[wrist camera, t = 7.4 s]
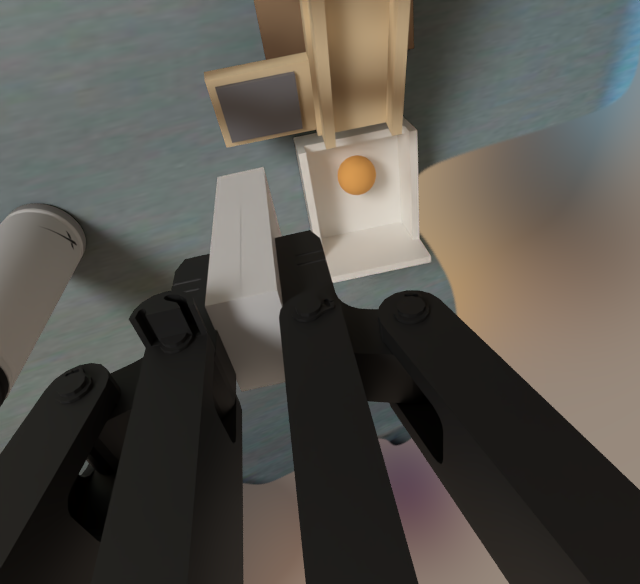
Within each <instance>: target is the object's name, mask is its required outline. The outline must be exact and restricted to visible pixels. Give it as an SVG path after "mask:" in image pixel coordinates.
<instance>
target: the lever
mask: <svg viewBox="0 0 640 584" xmlns="http://www.w3.org/2000/svg"><path fill="white" fill-rule="evenodd" d="M299 1H300V9H301V17H302V25H303V33H304V41H305V49H306V52H303V53H298V54H293V55H288V56H283V57H278V58H273V59H268V60H263V61H258V62H253V63H248V64H243V65H238V66H233V67H228V68H223V69H218V70H212V71H207V72H204V76H205V83H206V86H207V89H208V92H209V95H210V98H211V101H212V104H213V107H214V110H215V113H216V116H217V119H218V122H219V125H220V128H221V131H222V134H223V137H224V141H225V144H226V147H232V146H237V145H242V144H247V143H252V142H257V141H262V140H267V139H271V138H276V137H281V136H286V135H291V134H296V133H301V132H306V131H311V130H316V131H317V135H318V136H321V135H322V137H323V140H324V143H325V147H326V149H331V148H335V147H336V140H335V133H336V132H340V131H345V130H350V129H355V128H360V127H365V126H370V125H375V124H380V123H385V122H386V124H387V126H388V128H389V130H390V133H391V135H392V136H394V135H399V134H402V123H403V107H404V92H405V77H406V61H407V46H408V31H409V16H410V0H299Z"/></svg>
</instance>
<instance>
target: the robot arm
mask: <svg viewBox="0 0 640 584" xmlns="http://www.w3.org/2000/svg"><path fill="white" fill-rule="evenodd" d="M129 320H130V322H131V324H132V325H133V327H134V329H135V330H136V332H137V334H138V336H139V337H140V339H141V341H142V342H143V344H144V346H145V347H146V349H145V353H144V357H143V358H141V359H140V360H138V361H136V362H134V363H132V364H130V365H128V366H126V367H124V368H121V369H119V370H117V371H115V372H113V373H111V374H110V373H109V371H108V370H107V369H106V368H105V367H104V366H102V365H101V364H94V363H89V364H84V365H79V366H77V367H75V368H72V369H70V370H68V371H66V372H65V373H63V374H62V375H60V376H59V377H58V378H56V379H55V380H54V381H53V382H52V383H51V384H50V385H49V386H48V388H47V389H46V390H45V391H44V393H43V394H42V396H41V397H40V398H39V400H38V401H37V403H36V404H35V406H34V407H33V408H32V410H31V411H30V413H29V414H28V416H27V417H26V418H25V420H24V421H23V423H22V424H21V425H20V427H19V428H18V430H17V431H16V433H15V434H14V435H13V437H12V438H11V440H10V441H9V443H8V444H7V445H6V447H5V448H4V450H3V451H2V453H1V454H0V584H243V479H242V409H241V405H240V402H239V400H238V397H237V395H236V380H237V382H238V384H239V386H240V389H241V391H247V390H251V389H256V388H260V387H265V386H269V385H274V384H278V383H282V382H285V383H286V393H287V402H288V412H289V422H290V432H291V442H292V452H293V461H294V471H295V481H296V491H297V501H298V511H299V520H300V530H301V540H302V549H303V560H304V569H305V578H306V584H418V581H417V577H416V574H415V570H414V566H413V563H412V559H411V556H410V552H409V549H408V545H407V542H406V538H405V534H404V531H403V527H402V524H401V520H400V517H399V513H398V509H397V505H396V502H395V498H394V495H393V491H392V488H391V484H390V480H389V477H388V473H387V470H386V466H385V462H384V459H383V455H382V452H381V448H380V445H379V441H378V437H377V434H376V430H375V427H374V423H373V419H372V416H371V412H370V409H369V405H368V402H367V401H374V402H389V403H390V406H391V408H392V409H393V411H394V412H395V414H396V415H397V417H398V418H399V420H400V421H401V422H402V424H403V425H404V427H405V428H406V430H407V431H408V433H409V434H410V436H411V437H412V439H413V440H414V442H415V443H416V445H417V446H418V448H419V449H420V451H421V452H422V453H423V455H424V457H425V458H426V460H427V461H428V463H429V464H430V466H431V467H432V469H433V470H434V472H435V473H436V475H437V476H438V478H439V479H440V481H441V482H442V484H443V485H444V487H445V488H446V490H447V491H448V493H449V494H450V496H451V497H452V499H453V500H454V502H455V503H456V505H457V506H458V508H459V509H460V511H461V512H462V514H463V515H464V517H465V518H466V520H467V521H468V523H469V524H470V526H471V527H472V529H473V530H474V532H475V533H476V534H477V536H478V537H479V539H480V540H481V542H482V543H483V545H484V546H485V548H486V549H487V551H488V552H489V554H490V555H491V557H492V558H493V560H494V561H495V563H496V564H497V566H498V567H499V569H500V570H501V572H502V573H503V575H504V576H505V578H506V579H507V581H508V582H509V584H640V490H639V489H638V488H637V487H636V486H635V485H634V484H633V483H632V482H631V481H630V480H629V479H628V478H627V477H626V476H625V475H623V474H622V473H621V472H620V471H619V470H618V469H617V468H616V467H615V466H614V465H613V464H612V463H611V462H610V461H609V460H608V459H607V458H606V457H604V456H603V454H601V453H600V452H599V451H598V450H597V449H596V448H595V447H594V446H593V445H592V444H591V443H590V442H589V441H588V440H587V439H586V438H584V437H583V435H581V433H579V432H578V431H577V430H576V429H575V428H574V427H573V426H572V425H571V424H570V423H569V422H568V421H567V420H566V419H565V418H563V416H562V415H561V414H560V413H558V412H557V411H556V410H555V409H554V408H553V407H552V406H551V405H550V404H549V403H548V402H547V401H546V400H545V399H544V398H543V397H542V396H541V395H539V394H538V392H537V391H535V390H534V389H533V388H532V387H531V386H530V385H529V384H528V383H527V382H526V381H525V380H524V379H523V378H522V377H521V376H520V375H519V374H517V372H515V371H514V370H513V369H512V368H511V367H510V366H509V365H508V364H507V363H506V362H505V361H504V360H503V359H502V358H501V357H500V356H499V355H498V354H497V353H496V352H495V351H494V350H492V349H491V348H490V347H489V346H488V345H487V344H486V343H485V342H484V341H483V340H482V339H481V338H480V337H479V336H478V335H477V334H476V333H475V332H474V331H472V329H470V328H469V327H468V326H467V325H466V324H465V323H464V322H463V321H462V320H461V319H460V318H459V317H458V316H457V315H456V314H455V313H454V312H453V311H452V310H451V309H450V308H448V307H447V306H446V305H445V304H444V303H443V302H442V301H441V300H440V299H439V298H437V297H435V296H434V295H432V294H431V293H427V292H423V291H403V292H399V293H395V294H393V295H391V296H390V297H388V298H386V299H385V300H384V301H383V302H382V304H381V305H380V306H379V309H358V308H354V307H351V306H348V305H347V304H345V303H343V302H342V301H341V300H340V299H339V298H338V297H337V295H336V293H335V290H334V286H333V282H332V279H331V275H330V272H329V268H328V265H327V261H326V257H325V254H324V251H323V247H322V243H321V239H320V238H319V237H318V236H317V235H316V234H314V233H313V232H312V231H311V230H308V231H304V232H299V233H295V234H290V235H286V236H281V232H280V228H279V225H278V221H277V217H276V213H275V209H274V205H273V201H272V198H271V194H270V190H269V186H268V182H267V178H266V174H265V171H264V167H261V168H257V169H252V170H248V171H243V172H239V173H234V174H230V175H225V176H220V177H217V187H216V198H215V208H214V218H213V228H212V238H211V248H210V254H207V255H202V256H198V257H193V258H189V259H185V260H184V261H183V262H182V264H181V265H180V266H179V268H178V269H177V270H176V271H175V276H174V281H173V286H172V291H168V292H164V293H161V294H158V295H155V296H153V297H151V298H149V299H147V300H146V301H144V302H142V303H141V304H140V305H139V306H138V307H137V308H136V309H135V310H134V311H133V313H132V314H131V316H130V318H129ZM86 460H87V461H88V463H89V465H88V467H87V468H86V470H85V471H84V472H83V474H82V475H79V472H80V470H81V468H82V467H83V465H84V463H85V461H86Z"/></svg>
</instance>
